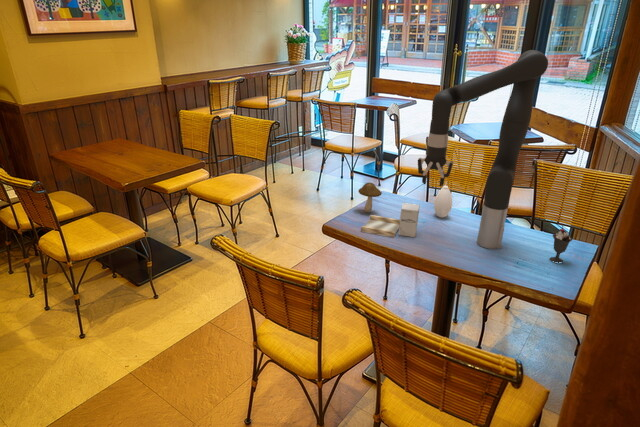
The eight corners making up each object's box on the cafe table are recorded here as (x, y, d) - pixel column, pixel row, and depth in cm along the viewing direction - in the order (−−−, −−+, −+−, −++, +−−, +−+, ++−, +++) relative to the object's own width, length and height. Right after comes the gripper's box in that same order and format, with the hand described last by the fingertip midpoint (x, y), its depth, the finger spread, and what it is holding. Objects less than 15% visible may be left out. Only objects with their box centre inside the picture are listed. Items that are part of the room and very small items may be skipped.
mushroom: (375, 218, 201) (377, 188, 194) (353, 213, 206) (355, 183, 200) (383, 211, 208) (385, 182, 202) (362, 206, 213) (363, 178, 207)
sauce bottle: (443, 221, 198) (448, 185, 191) (429, 216, 203) (434, 180, 196) (453, 217, 202) (458, 181, 195) (439, 212, 208) (444, 176, 201)
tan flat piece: (401, 224, 194) (401, 220, 193) (393, 237, 183) (394, 232, 182) (370, 219, 199) (370, 214, 199) (361, 231, 188) (361, 226, 187)
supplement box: (397, 235, 185) (400, 208, 180) (400, 228, 191) (402, 202, 186) (415, 237, 183) (418, 210, 178) (417, 230, 189) (420, 204, 184)
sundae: (549, 254, 170) (557, 220, 164) (567, 260, 167) (577, 225, 161) (544, 261, 166) (553, 225, 160) (563, 266, 162) (573, 231, 156)
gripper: (457, 144, 168) (451, 184, 175) (420, 140, 174) (416, 179, 180) (455, 148, 162) (449, 190, 169) (417, 144, 167) (413, 185, 174)
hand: (432, 184), depth 175 cm, fingers open, 5 cm apart
